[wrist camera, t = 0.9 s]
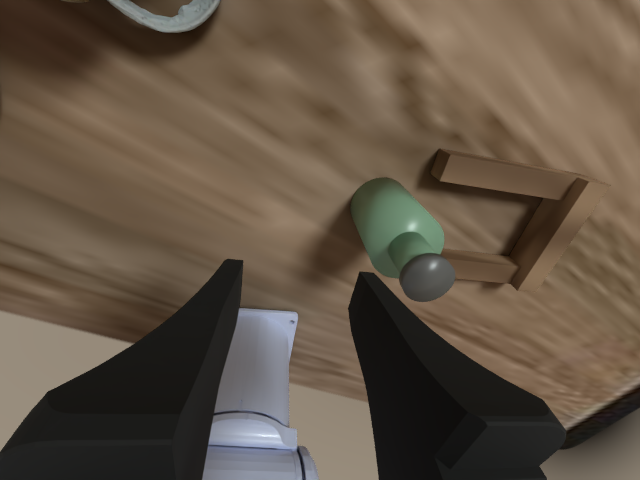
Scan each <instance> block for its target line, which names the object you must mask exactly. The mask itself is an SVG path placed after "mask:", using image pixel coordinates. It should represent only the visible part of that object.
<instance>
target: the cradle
mask: <svg viewBox="0 0 640 480" xmlns="http://www.w3.org/2000/svg"><path fill="white" fill-rule="evenodd" d="M430 174H431V175H433V176H434V177H435V178H437V179H438V180H439V181H443V182H449V183H455V184H461V185H468V186H474V187H480V188H487V189H493V190H499V191H505V192H512V193H518V194H524V195H530V196H537V197H543V200H542V201H541V203H540V205H539V206H538V208H537V210H536V211H535V213H534V215H533V216H532V218H531V220H530V222H529V223H528V225H527V227H526V228H525V230H524V232H523V233H522V235H521V237H520V238H519V240H518V242H517V243H516V245H515V247H514V248H513V250H512V252H511V253H510V255H509V256H502V255H494V254H485V253H476V252H468V251H459V250H450V249H442V252H441V254H440V255H442V256H444V257H445V258H446V259H447V260H448V262H449V263H450V264H451V265H452V266H453V268H454V270H455V278H456V279H466V280H477V281H487V282H497V283H508V284H511V285H512V286H513V287H514V288H515V289H516V290H517V291H527V292H536V291H537V290H538V288H539V287H540V285H541V284H542V283H543V281H544V280H545V278H546V277H547V275H548V274H549V273H550V271H551V270H552V268H553V267H554V265H555V264H556V263H557V261H558V260H559V258H560V257H561V255H562V254H563V253H564V251H565V250H566V248H567V247H568V245H569V244H570V243H571V241H572V240H573V238H574V237H575V235H576V234H577V233H578V231H579V230H580V228H581V227H582V225H583V224H584V223H585V221H586V220H587V218H588V217H589V215H590V214H591V213H592V211H593V210H594V208H595V207H596V206H597V204H598V203H599V201H600V200H601V198H602V197H603V196H604V194H605V193H606V191H607V190H608V188H609V187H610V186H611V185H608V184H606V183H603V182H600V181H597V180H595V179H592V178H589V177H587V176H584V175H581V174H577V173H572V172H566V171H561V170H555V169H550V168H544V167H539V166H533V165H528V164H522V163H516V162H511V161H505V160H500V159H494V158H489V157H483V156H478V155H472V154H467V153H461V152H456V151H450V150H445V149H439V151H438V154H437V157H436V159H435V162H434V165H433V167H432V170H431V172H430Z"/></svg>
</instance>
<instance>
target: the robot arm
mask: <svg viewBox="0 0 640 480" xmlns="http://www.w3.org/2000/svg"><path fill="white" fill-rule="evenodd" d="M242 272H243V260H234V259H226V260H225V261H224V262H223V263H222V265H221V266H220V267H219V269H218V270H217V271H216V272H215V274H214V275H213V276H212V277H211V278H210V279H209V281H208V282H207V283H206V284H205V285H204V286H203V287H202V288H201V289H200V290H199V291H198V292H197V293H196V294H195V295H194V296H193V297H192V298H191V299H190V300H189V301H188V302H187V303H186V304H185V305H184V306H183V307H182V308H181V309H179V310H178V311H177V312H176V313H175V314H174V315H172V316H171V317H170V318H169V319H168V320H166V321H165V322H164V323H163V324H161V325H160V326H159V327H157V328H156V329H155V330H153V331H152V332H150V333H149V334H148V335H146V336H145V337H144V338H142V339H141V340H139V341H138V342H136V343H135V344H133V345H132V346H131V347H129V348H127V349H125V350H124V351H122V352H120V353H119V354H117V355H115V356H114V357H112V358H111V359H109V360H108V361H106V362H104V363H102V364H101V365H99V366H97V367H95V368H93V369H92V370H90V371H88V372H86V373H84V374H82V375H80V376H78V377H76V378H74V379H72V380H70V381H68V382H66V383H64V384H62V385H60V386H58V387H57V388H54V389H52V390H50V391H48V392H47V393H46V394H45V396H44V397H43V398H42V399H41V400H40V402H39V403H38V404H37V405H36V406H35V407H34V408H33V409H32V410H31V412H30V413H29V414H28V415H27V417H26V418H25V419H24V420H23V422H22V423H21V425H20V426H19V427H18V428H17V430H16V431H15V432H14V434H13V435H12V437H11V438H10V439H9V441H8V442H7V443H6V445H5V446H4V447H3V449H2V450H1V452H0V480H319V478H318V472H317V468H316V465H315V462H314V460H313V459H312V457H311V456H310V453H309V451H308V450H307V448H306V447H304V446H297V430H296V429H295V428H289V360H290V355H291V350H292V345H293V340H294V335H295V330H296V325H297V320H298V314H297V313H296V312H292V311H277V310H262V309H247V308H239V307H240V301H241V287H242ZM348 310H349V319H350V326H351V332H352V336H353V340H354V343H355V347H356V351H357V355H358V358H359V362H360V366H361V370H362V373H363V377H364V381H365V385H366V390H367V395H368V402H369V407H370V414H371V421H372V428H373V434H374V442H375V450H376V458H377V466H378V475H379V480H547V478H546V476H545V475H544V473H543V471H542V470H541V468H540V467H539V466H540V465H541V464H542V463H543V462H544V461H546V460H547V459H548V458H549V457H550V456H551V455H552V454H553V453H555V452H556V451H557V450H558V449H559V448H560V447H561V446H562V445H563V443H564V441H565V439H566V430H565V428H564V427H563V426H562V424H561V423H560V422H559V420H558V419H557V418H556V416H555V415H554V414H553V412H552V411H551V410H550V408H549V407H548V406H547V404H546V403H545V402H544V401H543V400H542V399H540V398H539V397H537V396H535V395H533V394H531V393H529V392H527V391H525V390H523V389H521V388H519V387H518V386H516V385H514V384H512V383H510V382H508V381H506V380H505V379H503V378H501V377H499V376H498V375H496V374H494V373H493V372H491V371H489V370H488V369H486V368H484V367H483V366H481V365H480V364H478V363H476V362H475V361H473V360H472V359H470V358H469V357H467V356H466V355H465V354H463V353H462V352H460V351H459V350H457V349H456V348H455V347H453V346H452V345H450V344H449V343H448V342H446V341H445V340H444V339H443V338H441V337H440V336H439V335H438V334H436V333H435V332H434V331H433V330H431V329H430V328H429V327H428V326H427V325H426V324H424V323H423V322H422V321H421V320H420V319H419V318H418V317H417V316H416V315H415V314H414V313H412V312H411V311H410V310H409V309H408V308H407V307H406V306H405V305H404V304H403V303H402V302H401V301H400V300H399V299H398V298H397V297H396V296H395V294H394V293H393V292H392V291H391V290H390V289H389V288H388V287H387V286H386V285H385V284H384V283H383V282H382V281H381V280H380V279H379V278H378V277H377V276H376V275H375V274H374V273H370V272H359V275H358V278H357V282H356V285H355V288H354V291H353V294H352V298H351V301H350V304H349V307H348ZM291 320H293V321H291Z"/></svg>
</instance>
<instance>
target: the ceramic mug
mask: <svg viewBox="0 0 640 480" xmlns="http://www.w3.org/2000/svg"><path fill="white" fill-rule="evenodd" d="M61 1H66V2H76V3H83V2H89V1H90V0H61ZM107 1H108V2H109V3H110V4H111V5H113V6H114V7H115V8H117V9H118V10H120V11H121V12H122V13H123V14H124V15H126V16H128V17H130V18H132V19H133V20H135V21H136V22H138V23H139V24H142V25H144V26H147V27H149V28H152V29H154V30H157V31H161V32H174V33H180V32H185V31H190V30H193V29H195V28H196V27H197V26H200V25H201V24H202V23H203V22H204V21H206V20H207V19H208V18H209V17H210V16H211V15H212V13H213V12H214V11H215V10H216V9H217V7H218V5H219V3H220V1H221V0H193V1H192V2H191V3H190V4H188V5H184V6H181V8H180V9H179V13H178V15H176V16H174V17H172V18H170V17H165V16H159V15H154V14H152V13H150V12H148V11H147V10H145V9H142V8H140V7H138V6H137V5H135V4H134V3H133V2H131V1H129V0H107Z"/></svg>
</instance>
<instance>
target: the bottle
mask: <svg viewBox="0 0 640 480" xmlns="http://www.w3.org/2000/svg"><path fill="white" fill-rule="evenodd" d="M350 211H351V216H352V218H353V221H354V223H355V225H356V228H357V230H358V232H359V235H360V237H361V239H362V241H363V244H364V246H365V248H366V251H367V253H368V255H369V258H370V260H371V262H372V264H373V266H374V268H375V269H376V270H377V271H378V272H380V273H381V274H383V275H385V276H387V277H391V278H399V282H400V285H401V287H402V289H403V291H404V292H405V294H406V295H407V297H409V298H410V299H412V300H414V301H418V302H427V301H431V300H434V299H437V298H439V297H441V296H442V295H444V294H445V293H446V292H447V291H448V290H449V289H450V288H451V287H452V285H453V283H454V281H455V270H454V268H453V266H452V265H451V264H450V263H449V262H448V260H447V259H446V258H445V257H444V256H442V255H440V254H441V252H442V249H443V246H444V233H443V230H442V228H441V226H440V224H439V223H438V222H437V221H436V220H435V219H434V218H433V217H432V216H431V215H430V214H429V213H428V212H427V211H426V210H425V209H424V208H423V207H422V206H421V205H420V204H419V203H418V202H417V200H416V199H415V198H414V197H413V196H412V195H411V194H410V193H409V192H408V191H407V190H406V189H405V188H404V187H403V186H402V185H401V184H400V183H399V182H397V181H395V180H393V179H390V178H376V179H373V180H370V181H368V182H366V183H365V184H363V185H362V186H361V187H360V188H359V189H358V190H357V191H356V193H355V194H354V196H353V198H352V201H351V205H350Z"/></svg>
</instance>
